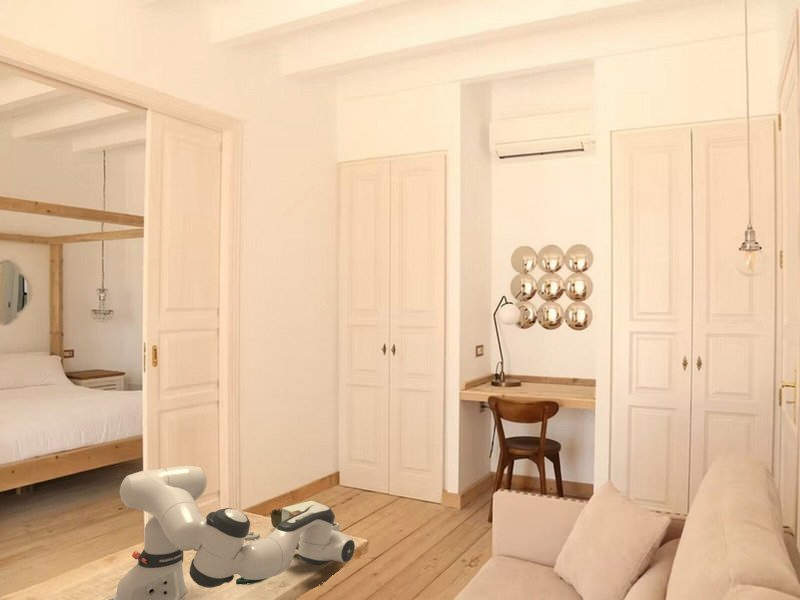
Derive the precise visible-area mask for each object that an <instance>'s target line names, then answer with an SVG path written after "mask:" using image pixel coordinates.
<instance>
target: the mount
mask: <svg viewBox="0 0 800 600" xmlns="http://www.w3.org/2000/svg"><path fill="white" fill-rule="evenodd" d="M267 579H268V578H266V579H265V580H267ZM262 580H263V581H265V580H264V579H259V580H249V579H245V578H243V577H241V576H240V577H238V578H236V580H235V584H236V585H238V584H242V585H248V584H247V583H251V584H254V583H260V582H263V581H262ZM259 581H260V582H259Z"/></svg>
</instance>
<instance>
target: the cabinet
mask: <svg viewBox="0 0 800 600" xmlns="http://www.w3.org/2000/svg"><path fill="white" fill-rule="evenodd" d="M317 504H320V505H323V504H322V503H319V502H317V501H313V500H309V501H304V502H301V503H296V504H293V505H289V506H283V507H281V509H282V521H284V520H286V519H288V518H289V512H293V511H297V510H299V511H302V512H303V511H305V510H306V509H307V508H308V507H310V506H312V505H317Z"/></svg>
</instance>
